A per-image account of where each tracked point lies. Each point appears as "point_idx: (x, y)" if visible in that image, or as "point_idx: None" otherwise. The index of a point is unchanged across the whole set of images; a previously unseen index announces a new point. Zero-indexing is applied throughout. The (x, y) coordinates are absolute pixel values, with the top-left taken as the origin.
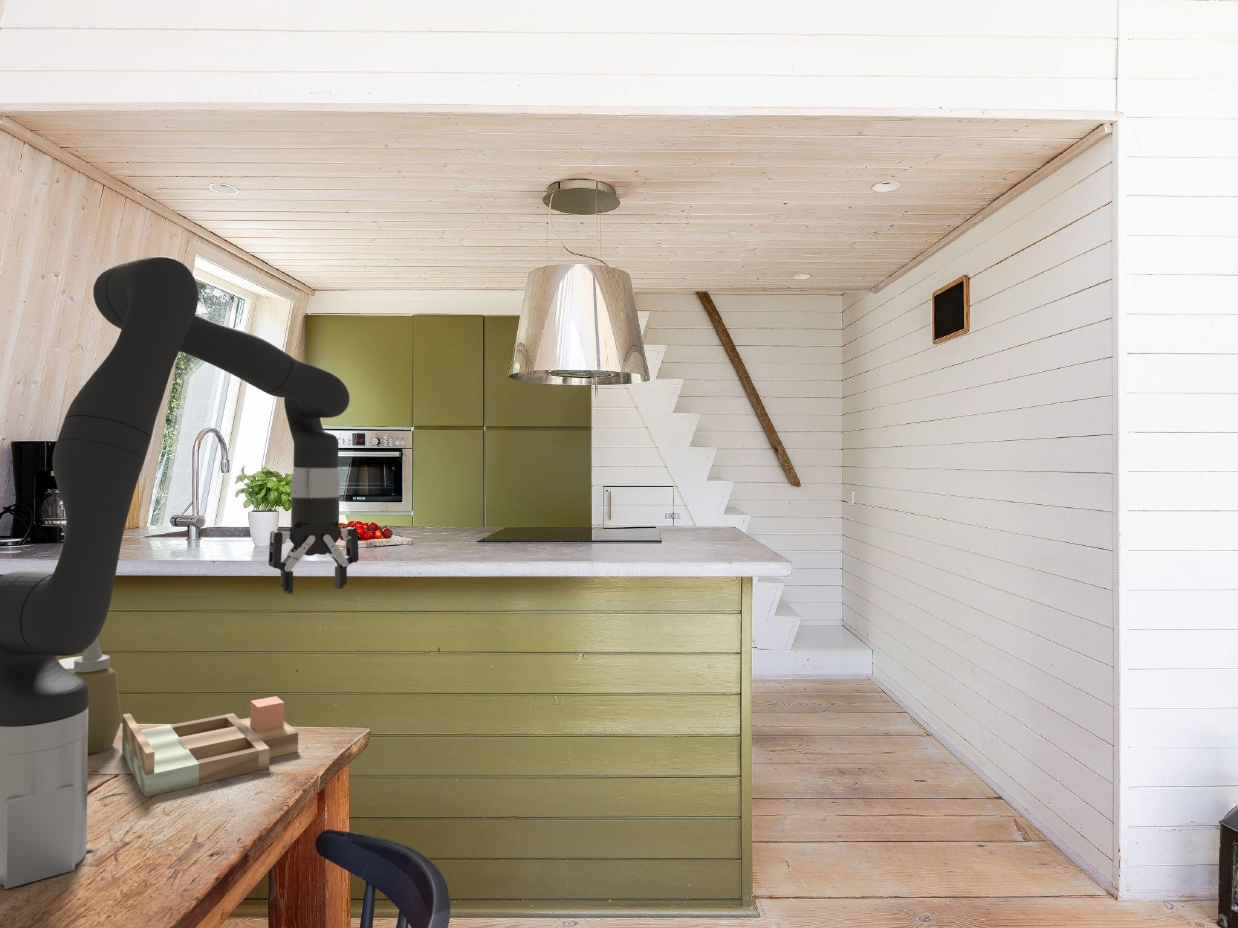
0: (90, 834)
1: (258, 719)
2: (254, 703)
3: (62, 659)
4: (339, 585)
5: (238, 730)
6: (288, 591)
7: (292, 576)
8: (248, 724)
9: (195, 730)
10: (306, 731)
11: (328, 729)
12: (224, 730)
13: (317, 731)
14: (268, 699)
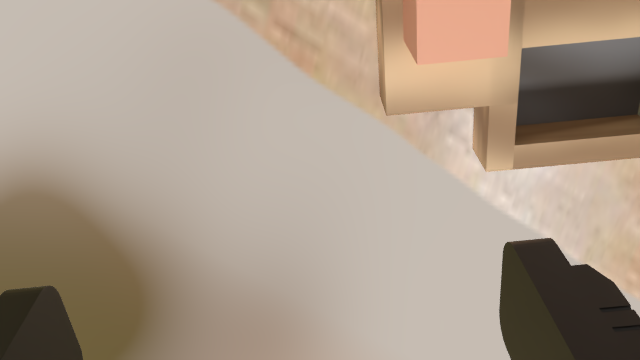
0: None
1: None
2: (506, 17)
3: None
4: (37, 300)
5: (526, 2)
6: (555, 245)
7: (582, 355)
8: None
9: (587, 128)
10: (303, 36)
11: (240, 18)
12: (558, 26)
13: (274, 18)
14: (451, 40)
